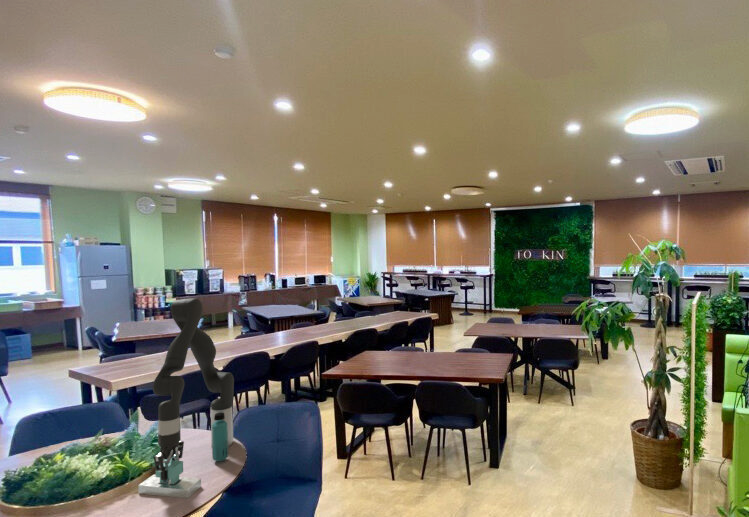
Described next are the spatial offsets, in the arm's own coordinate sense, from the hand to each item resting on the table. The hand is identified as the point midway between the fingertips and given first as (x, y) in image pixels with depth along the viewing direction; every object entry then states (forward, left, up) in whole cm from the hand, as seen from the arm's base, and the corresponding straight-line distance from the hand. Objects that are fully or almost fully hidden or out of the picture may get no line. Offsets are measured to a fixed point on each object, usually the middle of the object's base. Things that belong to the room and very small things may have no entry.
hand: (169, 475), depth 156 cm
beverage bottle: (-24, +6, -5) cm, 25 cm away
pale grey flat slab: (0, 0, -5) cm, 5 cm away
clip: (0, 0, -2) cm, 2 cm away
